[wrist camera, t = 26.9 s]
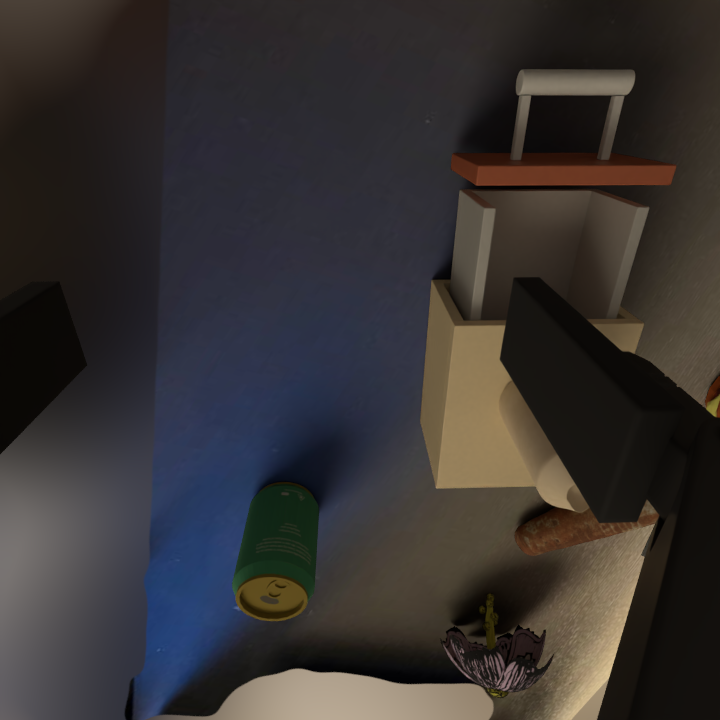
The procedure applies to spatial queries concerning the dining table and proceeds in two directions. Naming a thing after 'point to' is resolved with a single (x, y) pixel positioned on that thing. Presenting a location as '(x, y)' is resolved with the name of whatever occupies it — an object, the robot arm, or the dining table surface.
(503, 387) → the small drawer cabinet
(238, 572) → the beverage can
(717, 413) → the cheeseburger
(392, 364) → the dining table surface
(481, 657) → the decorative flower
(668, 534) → the robot arm
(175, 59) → the dining table surface
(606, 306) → the drawer
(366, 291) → the dining table surface
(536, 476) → the candle
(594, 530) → the brown sausage
